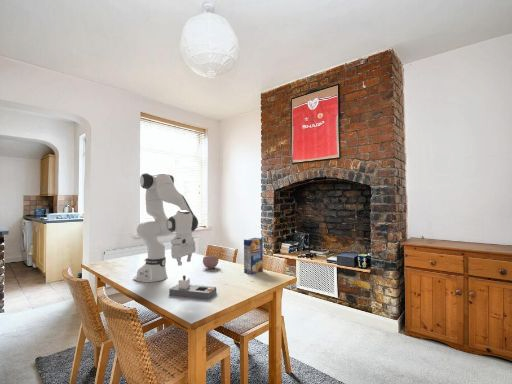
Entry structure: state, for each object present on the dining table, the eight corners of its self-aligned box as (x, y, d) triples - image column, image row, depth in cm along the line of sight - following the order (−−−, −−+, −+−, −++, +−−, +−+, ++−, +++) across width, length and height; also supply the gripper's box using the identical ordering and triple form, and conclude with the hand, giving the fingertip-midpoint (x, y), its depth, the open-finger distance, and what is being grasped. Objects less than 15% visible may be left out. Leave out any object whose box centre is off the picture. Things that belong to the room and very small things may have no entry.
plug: (178, 294, 154) (178, 276, 154) (183, 291, 158) (182, 274, 159) (185, 295, 153) (185, 277, 153) (189, 292, 157) (189, 274, 157)
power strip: (169, 296, 153) (169, 288, 153) (179, 290, 162) (179, 282, 162) (208, 300, 146) (208, 291, 146) (216, 294, 156) (216, 286, 156)
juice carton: (255, 269, 208) (255, 237, 209) (262, 271, 203) (262, 238, 203) (244, 272, 200) (243, 239, 200) (251, 274, 194) (250, 240, 195)
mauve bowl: (219, 266, 218) (219, 251, 218) (217, 270, 206) (216, 255, 206) (204, 266, 219) (204, 251, 219) (201, 270, 207) (201, 255, 207)
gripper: (188, 236, 167) (188, 259, 167) (169, 241, 148) (169, 267, 147) (198, 236, 165) (198, 259, 165) (179, 241, 146) (179, 268, 145)
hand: (184, 263), depth 156 cm, fingers open, 8 cm apart
